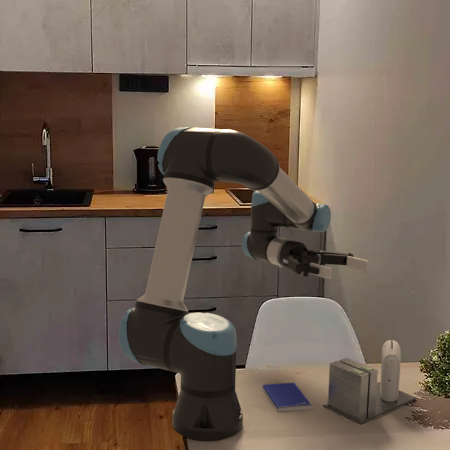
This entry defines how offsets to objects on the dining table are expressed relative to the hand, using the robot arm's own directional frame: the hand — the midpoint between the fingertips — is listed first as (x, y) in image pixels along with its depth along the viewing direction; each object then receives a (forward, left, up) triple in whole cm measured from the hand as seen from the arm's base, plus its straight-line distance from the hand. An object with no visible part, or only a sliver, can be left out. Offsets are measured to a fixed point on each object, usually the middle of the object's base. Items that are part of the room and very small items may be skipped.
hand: (349, 270), depth 174 cm
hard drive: (-20, 0, -29) cm, 35 cm away
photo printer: (0, -13, -27) cm, 31 cm away
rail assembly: (-6, -13, -28) cm, 31 cm away
